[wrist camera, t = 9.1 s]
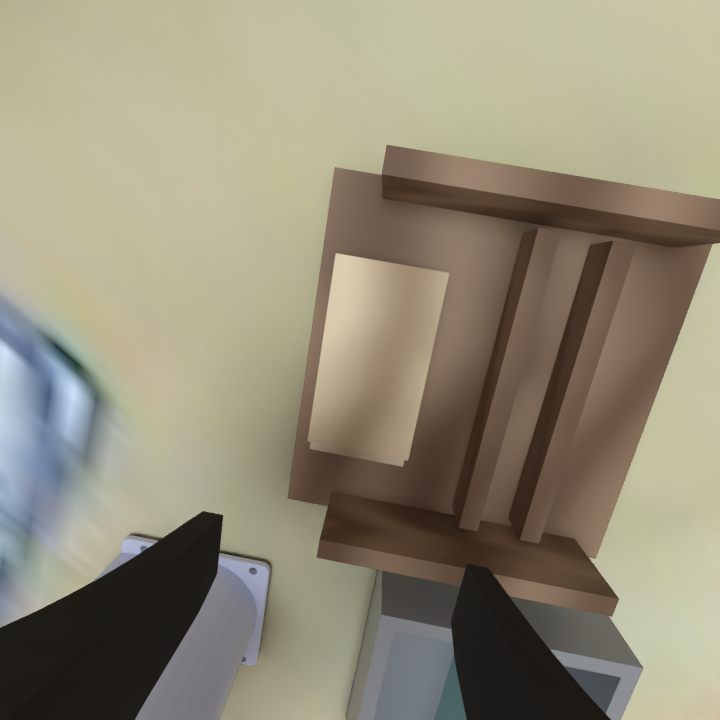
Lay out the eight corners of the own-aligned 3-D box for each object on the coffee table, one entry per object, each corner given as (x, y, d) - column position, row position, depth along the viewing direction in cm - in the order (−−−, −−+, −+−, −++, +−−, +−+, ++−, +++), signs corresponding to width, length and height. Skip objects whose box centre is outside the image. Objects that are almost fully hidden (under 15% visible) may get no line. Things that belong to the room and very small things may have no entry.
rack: (290, 492, 22) (265, 547, 17) (336, 171, 18) (320, 133, 13) (589, 551, 21) (644, 623, 17) (706, 232, 17) (818, 215, 13)
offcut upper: (312, 431, 19) (307, 441, 18) (339, 255, 17) (335, 253, 16) (406, 449, 19) (407, 460, 18) (444, 273, 17) (449, 273, 16)
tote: (346, 716, 25) (337, 807, 21) (382, 548, 22) (381, 614, 18) (529, 755, 25) (560, 856, 20) (591, 590, 22) (643, 668, 17)
